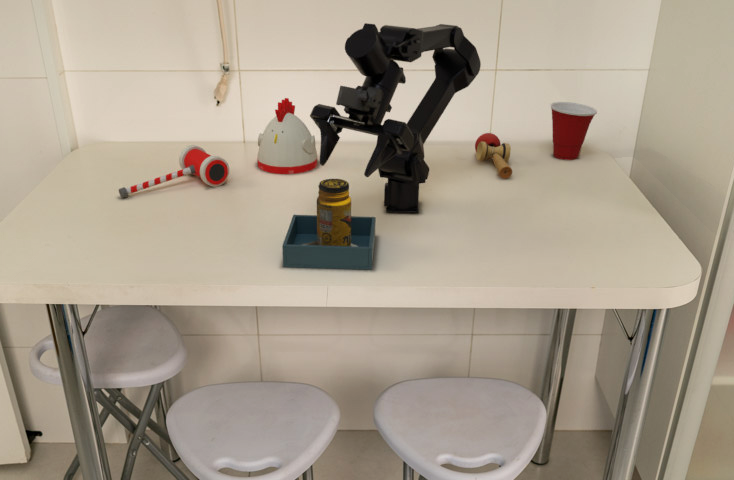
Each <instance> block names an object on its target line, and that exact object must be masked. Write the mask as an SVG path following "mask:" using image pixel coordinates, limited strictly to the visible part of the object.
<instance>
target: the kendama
mask: <svg viewBox="0 0 734 480" xmlns="http://www.w3.org/2000/svg"><path fill="white" fill-rule="evenodd" d="M474 149H475V153H476V154H475V157H476V160H477V161H478V162H484V161H485V160H492V162H493V164H494V166H495V168H496V170H497V172H498V176H499V177H500V178H501V179H503V180H506V179H509V178H510V177H512V174H513V169H512V167H511V166H510V165H509V163H508V162H509V160H510V158H511V145H510V143H508V142H502V143H501V140H500V139H499V137H498V136H497V135H496V134H494V133H491V132H485V133H482V134H480V136H478V137H477V139H476V140H475V143H474Z"/></svg>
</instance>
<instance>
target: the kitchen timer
mask: <svg viewBox="0 0 734 480" xmlns="http://www.w3.org/2000/svg"><path fill="white" fill-rule="evenodd" d="M274 111H275V116H274V117H273V118H272V119H270V121H269V122H268V124H267V125H266V127H265V129H264V130H263V133H259V134H258V136H257V137H258V138H257V146H258V151H257V167H258V169H260V170H261V171H263V172H266V173H270V174H277V175H296V174H303V173H306V172H311V171H312V170H314V169H316V168H317V167H318V152H317V145H316V138H315V135H312V134H311V131H310V130H309V128H308V127H307V125H306V124H305V122H303V120H302V119H301V118H300V117H298V116H297V115H295V111H296V105H293V101H290V99H289V98H288V97H284V99H281V102H277V109H274Z"/></svg>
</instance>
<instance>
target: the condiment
mask: <svg viewBox="0 0 734 480" xmlns="http://www.w3.org/2000/svg"><path fill="white" fill-rule="evenodd" d="M316 215H317V241H314V242H310V243H307V244H302V245H321V246H355V247H358V246H356V245H354V244H352V243H351V216H352V197H351V195H350V184H349V182H348V181H347V180H345V179H342V178H326V179H323V180H321V181H320V182H319V184H318V196H317V198H316Z"/></svg>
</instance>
